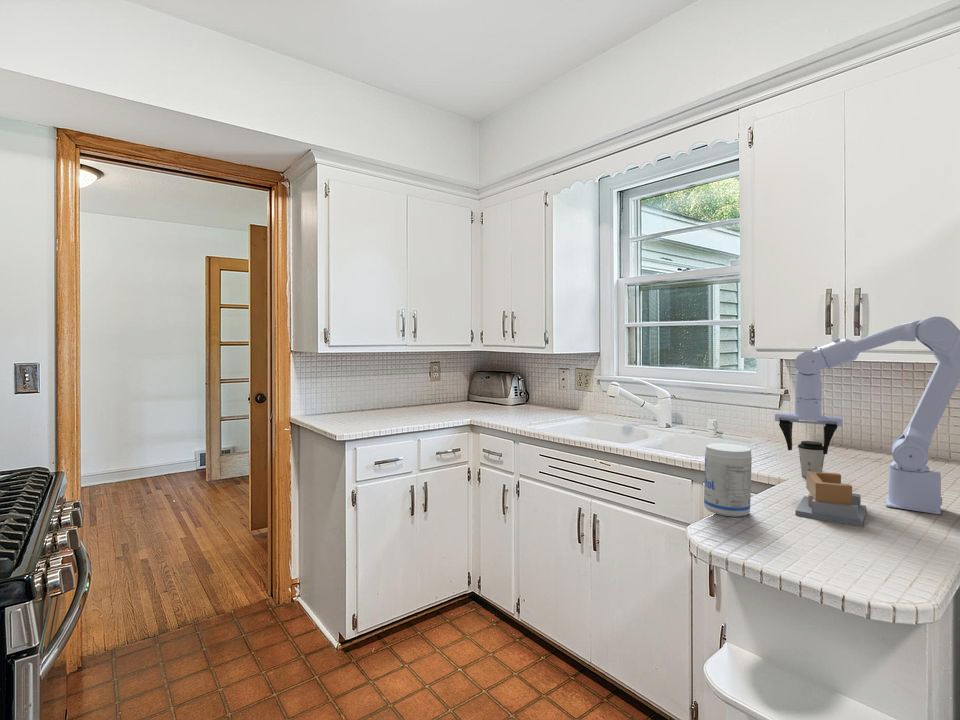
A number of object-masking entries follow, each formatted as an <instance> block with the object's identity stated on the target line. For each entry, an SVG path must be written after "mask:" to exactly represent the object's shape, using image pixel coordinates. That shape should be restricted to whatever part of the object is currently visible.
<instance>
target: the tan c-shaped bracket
mask: <svg viewBox="0 0 960 720" xmlns="http://www.w3.org/2000/svg"><path fill="white" fill-rule="evenodd" d="M805 479H806V481H805V483H806V484H805V485H806V489H807V490H808V492H809V493H810V494H811V495H812V497H813V498H814V500H815V501H817V502H827V503H837V504H846V505H852V493H853V486H852V485H851V484H847V483H842V474H841V473H834V472H824V471H822V472H813V471H807V473H806V478H805Z"/></svg>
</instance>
